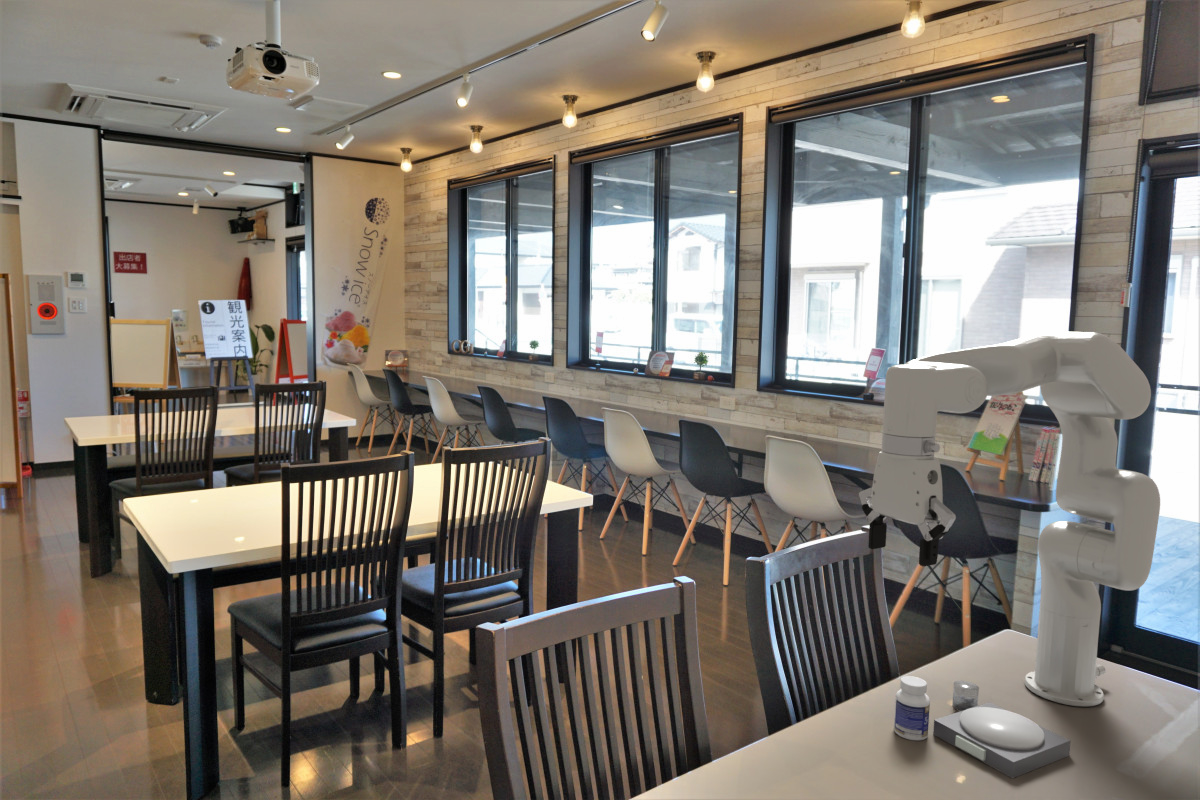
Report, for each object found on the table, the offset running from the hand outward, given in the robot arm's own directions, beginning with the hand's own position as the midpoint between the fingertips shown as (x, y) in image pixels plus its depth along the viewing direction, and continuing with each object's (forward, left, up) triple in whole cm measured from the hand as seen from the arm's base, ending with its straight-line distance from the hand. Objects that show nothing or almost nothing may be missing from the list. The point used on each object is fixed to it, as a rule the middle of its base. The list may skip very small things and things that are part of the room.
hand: (901, 556), depth 123 cm
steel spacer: (-23, -4, -31) cm, 39 cm away
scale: (-17, +7, -31) cm, 36 cm away
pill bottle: (-7, -2, -31) cm, 32 cm away
